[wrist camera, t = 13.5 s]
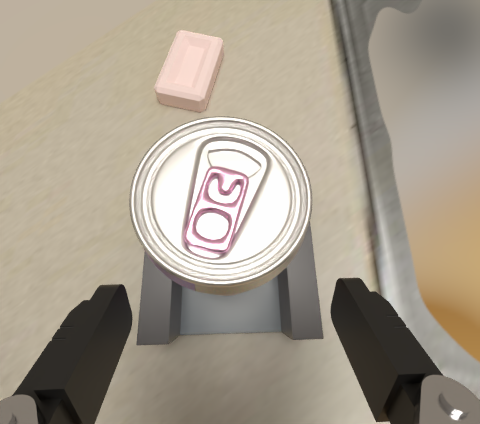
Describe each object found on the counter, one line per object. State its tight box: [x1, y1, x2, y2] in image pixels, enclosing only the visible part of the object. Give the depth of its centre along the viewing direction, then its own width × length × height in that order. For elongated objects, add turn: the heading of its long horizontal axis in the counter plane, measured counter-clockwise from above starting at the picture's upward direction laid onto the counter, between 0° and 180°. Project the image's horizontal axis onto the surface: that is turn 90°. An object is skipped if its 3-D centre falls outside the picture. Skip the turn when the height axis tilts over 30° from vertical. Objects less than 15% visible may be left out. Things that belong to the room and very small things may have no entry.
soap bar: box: [154, 30, 224, 112], centre depth 29 cm, size 5×9×2 cm, turn 167°
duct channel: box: [137, 222, 323, 345], centre depth 21 cm, size 12×12×5 cm
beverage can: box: [129, 116, 312, 296], centre depth 15 cm, size 6×6×15 cm
